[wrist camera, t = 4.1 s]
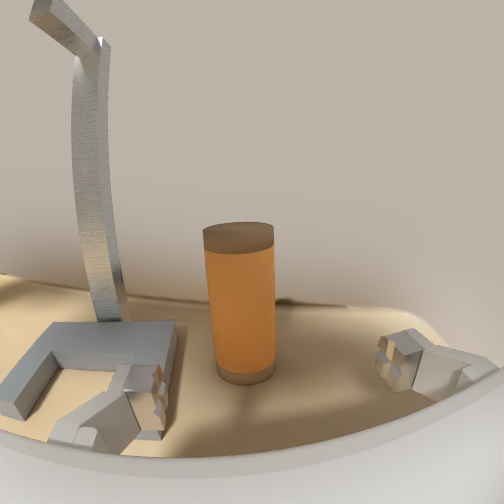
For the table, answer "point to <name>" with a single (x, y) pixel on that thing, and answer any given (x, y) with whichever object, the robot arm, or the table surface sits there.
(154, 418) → the robot arm
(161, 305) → the table surface
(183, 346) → the table surface
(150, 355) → the grey u-shaped bracket
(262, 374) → the orange brown canister
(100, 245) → the hook stand
